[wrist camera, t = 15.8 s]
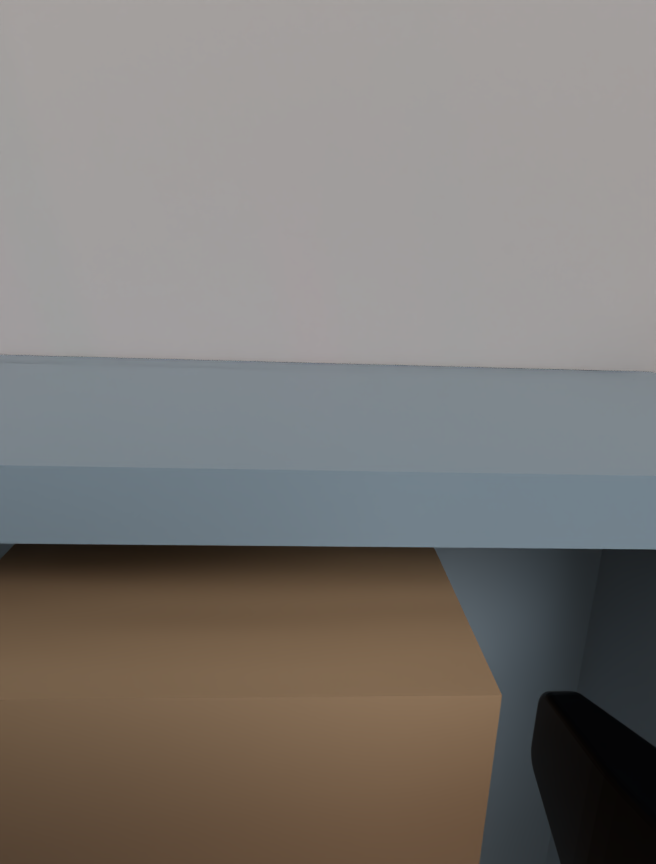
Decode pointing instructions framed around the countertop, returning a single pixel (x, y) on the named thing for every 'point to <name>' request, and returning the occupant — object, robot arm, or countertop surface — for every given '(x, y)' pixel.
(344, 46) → the countertop surface
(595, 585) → the slate tote
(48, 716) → the walnut cube
